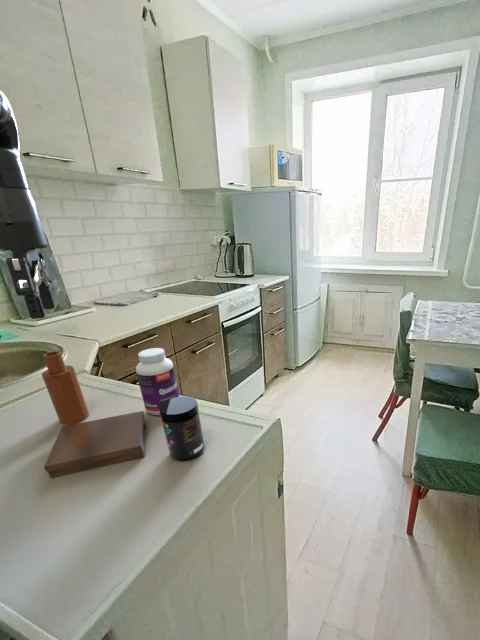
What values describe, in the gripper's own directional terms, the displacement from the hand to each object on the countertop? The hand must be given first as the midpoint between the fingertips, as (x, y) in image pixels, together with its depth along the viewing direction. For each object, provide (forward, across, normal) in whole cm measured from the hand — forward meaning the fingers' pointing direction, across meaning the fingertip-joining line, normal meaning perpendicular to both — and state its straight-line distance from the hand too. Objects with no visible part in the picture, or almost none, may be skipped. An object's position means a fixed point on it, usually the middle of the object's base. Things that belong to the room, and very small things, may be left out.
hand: (44, 313), depth 67 cm
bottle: (+26, -6, -2) cm, 27 cm away
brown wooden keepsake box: (+26, +10, +5) cm, 28 cm away
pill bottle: (+25, -2, +18) cm, 31 cm away
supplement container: (+26, +19, +21) cm, 38 cm away
